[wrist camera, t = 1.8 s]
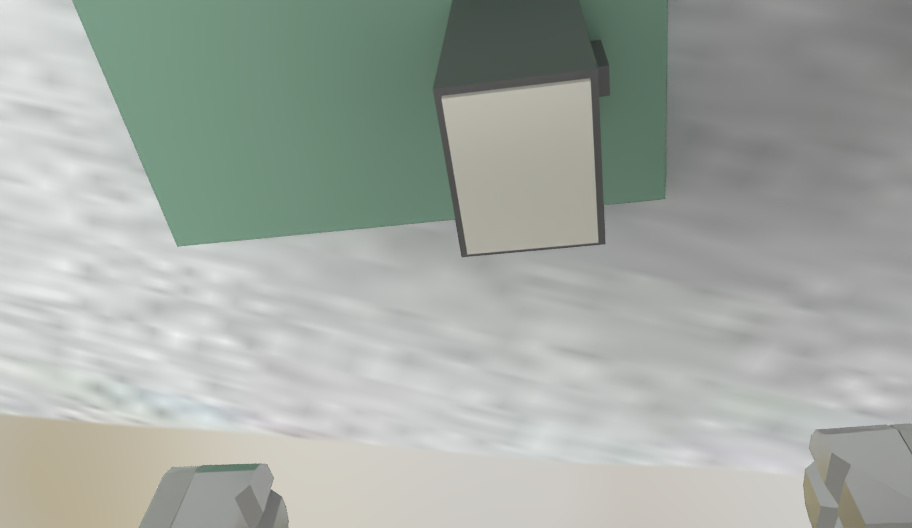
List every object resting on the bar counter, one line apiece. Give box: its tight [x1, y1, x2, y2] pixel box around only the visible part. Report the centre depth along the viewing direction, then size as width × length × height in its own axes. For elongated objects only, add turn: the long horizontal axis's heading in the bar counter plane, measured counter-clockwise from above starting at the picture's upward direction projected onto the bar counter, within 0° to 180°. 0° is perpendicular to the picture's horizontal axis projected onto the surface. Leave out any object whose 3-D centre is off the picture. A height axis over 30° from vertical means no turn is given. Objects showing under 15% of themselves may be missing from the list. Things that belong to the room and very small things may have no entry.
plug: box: [433, 0, 610, 257], centre depth 22 cm, size 5×5×8 cm
